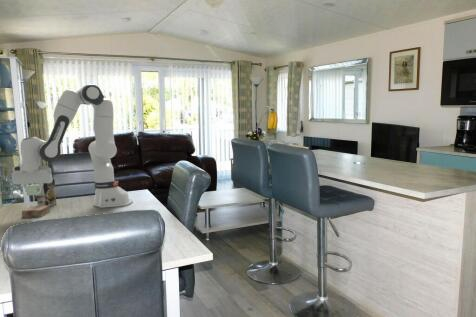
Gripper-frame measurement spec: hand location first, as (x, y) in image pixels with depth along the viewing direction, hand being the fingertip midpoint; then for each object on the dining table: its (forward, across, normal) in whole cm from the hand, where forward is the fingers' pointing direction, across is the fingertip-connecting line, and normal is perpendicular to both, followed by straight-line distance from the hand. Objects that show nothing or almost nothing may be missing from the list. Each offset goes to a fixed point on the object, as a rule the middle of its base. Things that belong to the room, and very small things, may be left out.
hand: (33, 191), depth 201 cm
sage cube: (+2, 0, 0) cm, 2 cm away
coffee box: (+13, +3, -20) cm, 24 cm away
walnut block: (+13, 0, 0) cm, 13 cm away
